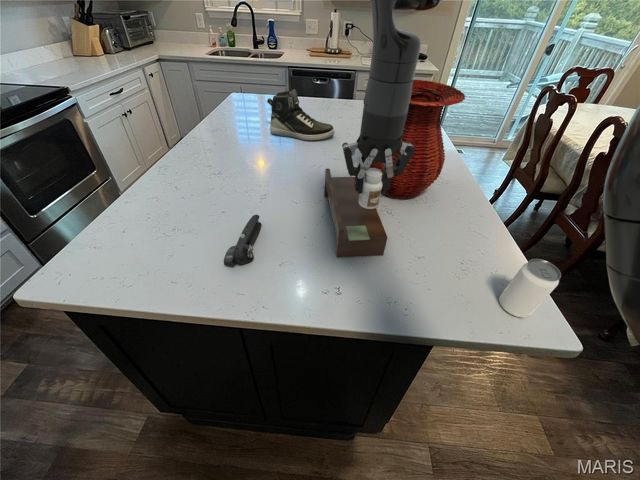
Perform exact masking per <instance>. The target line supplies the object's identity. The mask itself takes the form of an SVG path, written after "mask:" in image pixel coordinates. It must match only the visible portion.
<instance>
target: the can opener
mask: <svg viewBox="0 0 640 480" xmlns="http://www.w3.org/2000/svg"><path fill="white" fill-rule="evenodd" d="M259 219H260V215H259V214H253V215H252V216H251V218H250V219H249V220H248V221H247V223H246V224H245V226H244V227H243V229H242V231H241V233H240V236H239V237H238V240H237V243H236V245H232V246H230V247H229V248H228V249H227V251H226V252H225V255H224V257H223V265H225V266H230V267H234V266H236V265H237V264H242V265H243V264H247V263H250V262H252V261H254V257H255V256H254V253H253V251H254V243H255V241H256V239H257V238H258V235H259V233H260V231H261V229H262V225H263V224H262V223H261V222H260V221H259Z"/></svg>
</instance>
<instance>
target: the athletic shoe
mask: <svg viewBox="0 0 640 480" xmlns="http://www.w3.org/2000/svg"><path fill="white" fill-rule="evenodd" d="M266 102H267V104H268V105H270V106H271V107H270V108H271V114H270V126H269V131H270V134H271V135H273V136H279V137H285V138H292V139H296V140H299V141H304V142H321V141H324V140H327V139H331V138H332V137H333V136H334V135H335V127H334V126H333V125H332V124H330V123H326V122H321V121H318V120H316V119H314V118H313V117H311V116H310V114H308V113H306V111H304V110H303V108H302V107H301V106H300V100H299V98H298V93H297V90H296V89H292V90H286V91H280V92H277V93H276V94H275V95H273V97H272V98H271V97H269V98H267V100H266Z"/></svg>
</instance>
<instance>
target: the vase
mask: <svg viewBox="0 0 640 480" xmlns="http://www.w3.org/2000/svg"><path fill="white" fill-rule="evenodd" d="M464 100H466V95H465V93H463V92H462V91H461V90H460V89H457V88H456V87H454V86H451V85H448V84H444V83H441V82H436V81H431V80H423V79H413V85H412V95H411V99H410V104H409V108H408V113H407V117H406V121H405V126H404V130H403V134H402V137H401V139H402V142H404V143H407V142H410V143H411V144H412V145H413V147H414V148H415V152H414V154H413V155H412V157H411V159H410V161H409V162H408V164H407V166H406V168H405V169H404V171H403V173H402V174H401V175H394V176H393V177H392V178H391V182H390V187H389V189H388V190H386V193H382V194H383V195H386V196H387V197H388V196H389V197H391V198H394V199H412V198H413V197H417V196H418V195H420V194H421V193H422V192H424V191H425V190H427V189H428V188H429V187H430V186H431V185H432V184H434V183H435V181H437V180H438V178H439V177H440V175H441V173H442V170H443V168H444V165H445V160H446V153H445V151H446V150H445V146H444V143H445V142H444V138H443V137H442V136H443V133H442V132H443V131H442V115H443V110H444V107H446V106H453V105H458V104H460V103H463V102H464ZM400 149H401V148H400ZM400 149H399V151H398V152H397V153H396V154H395V155H394V156H393V157H392V163H393V166H394V164H395V162H396V160H397V159H398V157H399V155H400V153H401V152H400ZM369 168H376V169H379V170H381V171H382V174H383V173H384V165H383V163H378V162H377V163H371V165H370V167H369Z"/></svg>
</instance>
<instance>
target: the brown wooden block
mask: <svg viewBox="0 0 640 480" xmlns="http://www.w3.org/2000/svg"><path fill="white" fill-rule="evenodd" d="M324 172H325V173H324V189H323V197H324V198H327V199H328V202H329V208H330V212H331V218H332V222H333V226H334V227H333V228H334V232H335V236H336V242H335V243H336V244H335V252H334V253H335V258H336V259H341V258H343V259H344V258H360V257H361V258H362V257H381V256H384V254H385V250H386V246H387V241H388V234H387V232H386V229H385V228H384V225H383V222H382V219H381V217H380V215H379V212H378V210H377V207H376V208H374V209H366V208H363V207H361V206H360V205H359V195H360V194H358V192H357V191H356V190H355V187H354V181H355V176H332V174H331V170H330V168H325V169H324ZM363 178H365V176H364V177H363Z"/></svg>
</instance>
